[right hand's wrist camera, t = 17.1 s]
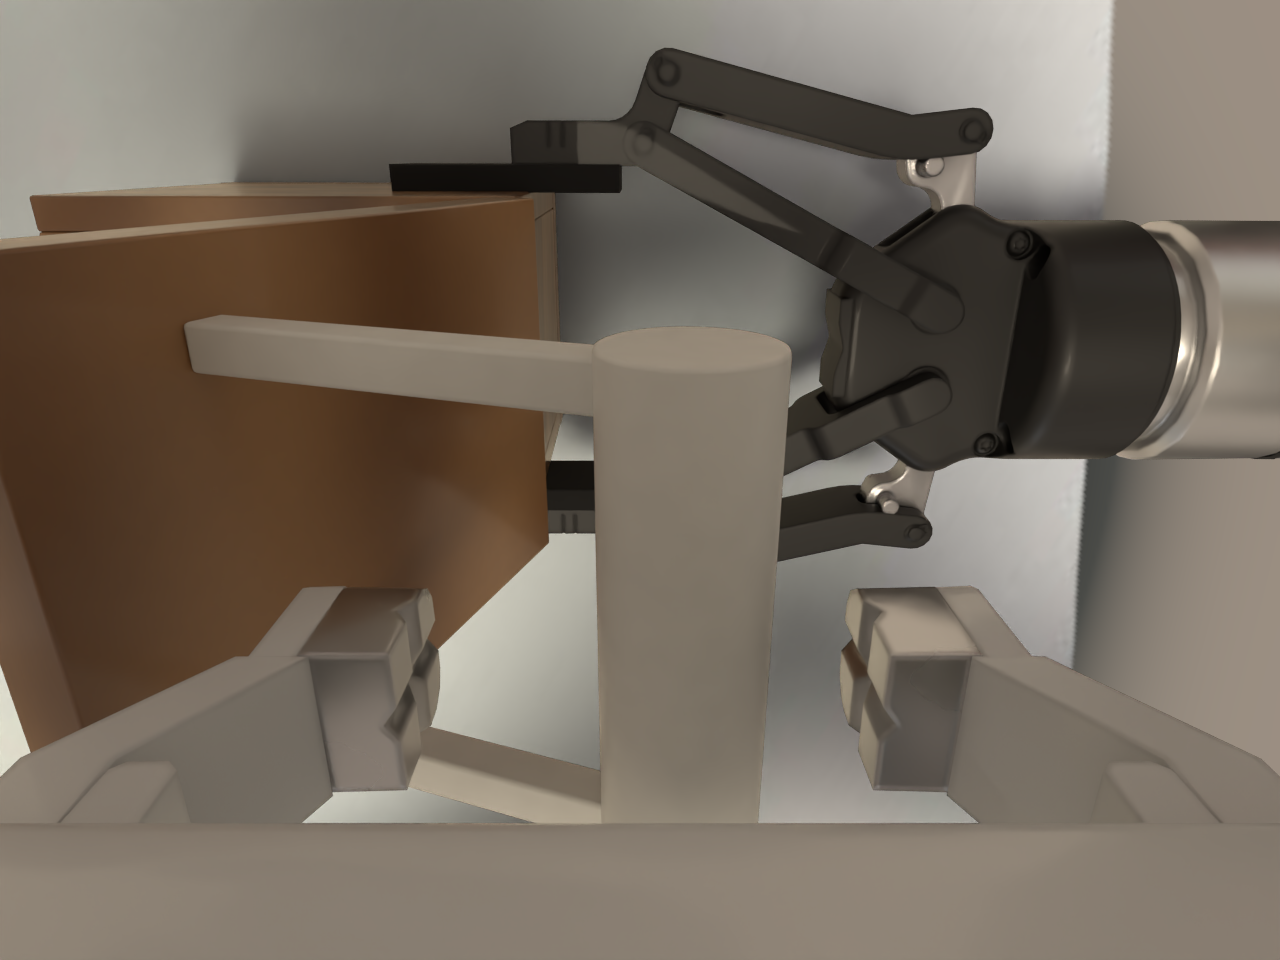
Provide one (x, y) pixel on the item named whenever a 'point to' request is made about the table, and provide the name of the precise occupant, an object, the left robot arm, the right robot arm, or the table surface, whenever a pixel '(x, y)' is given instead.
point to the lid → (381, 481)
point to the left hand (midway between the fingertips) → (420, 342)
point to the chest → (287, 199)
